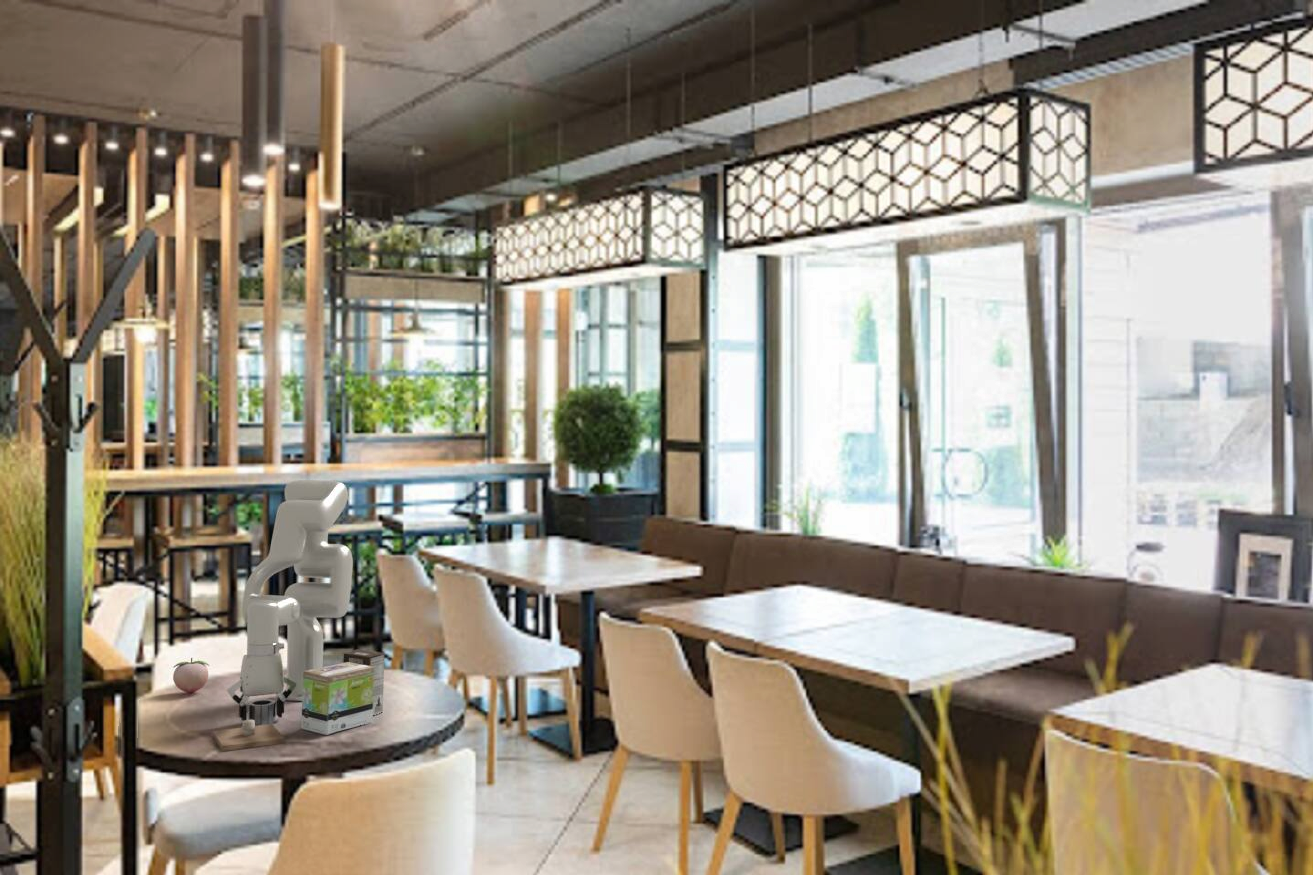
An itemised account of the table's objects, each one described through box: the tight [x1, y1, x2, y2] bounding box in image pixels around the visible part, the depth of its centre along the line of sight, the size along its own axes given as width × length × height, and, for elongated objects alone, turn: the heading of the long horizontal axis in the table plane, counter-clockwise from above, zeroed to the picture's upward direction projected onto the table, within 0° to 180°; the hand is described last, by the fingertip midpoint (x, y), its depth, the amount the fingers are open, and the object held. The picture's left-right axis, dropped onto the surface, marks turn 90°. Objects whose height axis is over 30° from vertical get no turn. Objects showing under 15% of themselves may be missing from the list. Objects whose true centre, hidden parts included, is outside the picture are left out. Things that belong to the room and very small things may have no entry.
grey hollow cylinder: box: [247, 698, 277, 726], centre depth 283 cm, size 6×6×5 cm
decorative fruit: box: [172, 657, 210, 695], centre depth 309 cm, size 9×8×10 cm
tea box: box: [300, 662, 374, 736], centre depth 281 cm, size 15×10×15 cm
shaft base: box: [211, 719, 286, 752], centre depth 268 cm, size 14×14×4 cm
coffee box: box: [342, 648, 385, 716], centre depth 293 cm, size 9×6×16 cm
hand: (261, 717), depth 283 cm, fingers open, 8 cm apart
